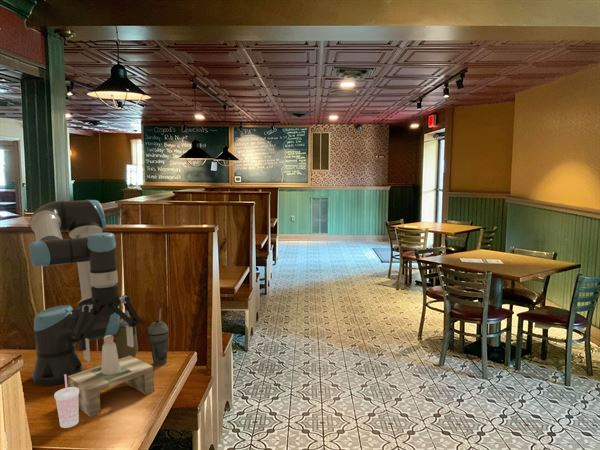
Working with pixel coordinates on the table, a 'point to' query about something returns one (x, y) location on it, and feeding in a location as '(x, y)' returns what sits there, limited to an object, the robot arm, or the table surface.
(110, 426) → the table surface
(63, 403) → the beverage cup
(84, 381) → the cut-out shelf
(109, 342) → the pepper shaker
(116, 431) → the table surface
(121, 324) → the squeeze bottle
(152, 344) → the beverage cup
